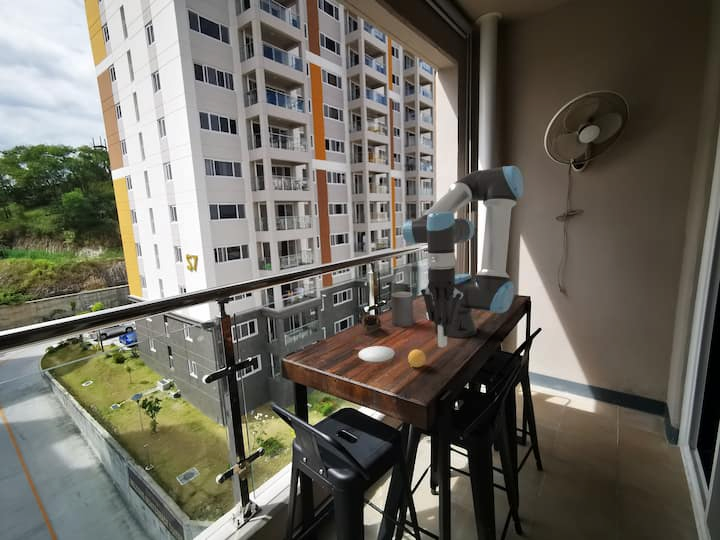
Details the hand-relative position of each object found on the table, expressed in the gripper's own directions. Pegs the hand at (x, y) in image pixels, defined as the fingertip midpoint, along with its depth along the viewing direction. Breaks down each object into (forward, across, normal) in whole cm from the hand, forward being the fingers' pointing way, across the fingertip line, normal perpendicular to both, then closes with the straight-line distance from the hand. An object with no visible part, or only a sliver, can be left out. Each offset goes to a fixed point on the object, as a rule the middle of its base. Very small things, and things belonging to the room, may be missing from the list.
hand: (442, 345), depth 97 cm
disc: (+9, -26, +1) cm, 28 cm away
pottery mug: (+10, -44, +18) cm, 49 cm away
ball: (+7, -10, 0) cm, 12 cm away
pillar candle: (+9, -38, +33) cm, 51 cm away
